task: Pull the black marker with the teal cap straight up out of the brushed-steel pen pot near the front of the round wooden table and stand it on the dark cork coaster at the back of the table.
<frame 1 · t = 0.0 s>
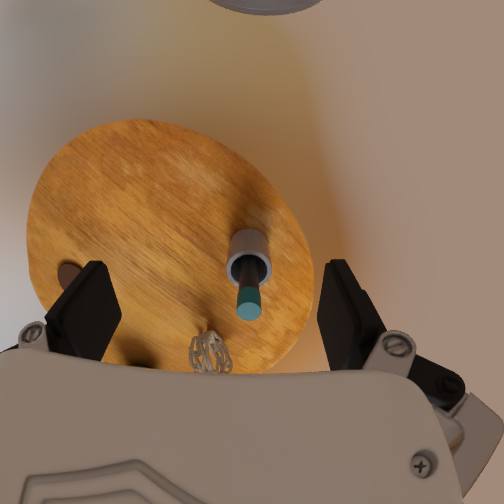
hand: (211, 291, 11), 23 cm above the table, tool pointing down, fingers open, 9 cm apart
bracelet: (213, 337, 44), on the table
coaster: (74, 280, 38), on the table
marker: (249, 247, 35), resting on pot
pot: (249, 245, 36), on the table
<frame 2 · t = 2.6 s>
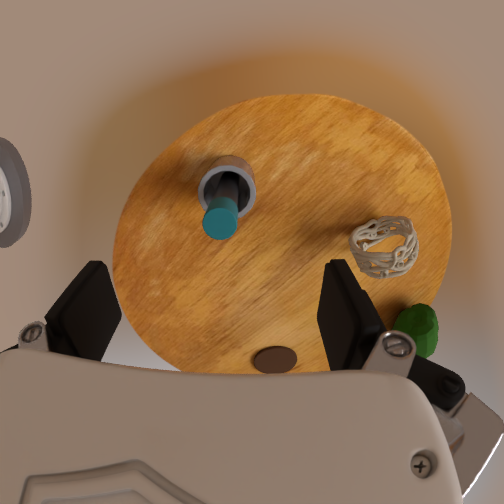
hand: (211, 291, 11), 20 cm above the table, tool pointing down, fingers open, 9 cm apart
bell pepper: (417, 316, 33), point 5 cm above the table
bracelet: (370, 228, 32), on the table
coaster: (275, 359, 42), on the table
marker: (230, 179, 28), resting on pot
pot: (230, 178, 29), on the table
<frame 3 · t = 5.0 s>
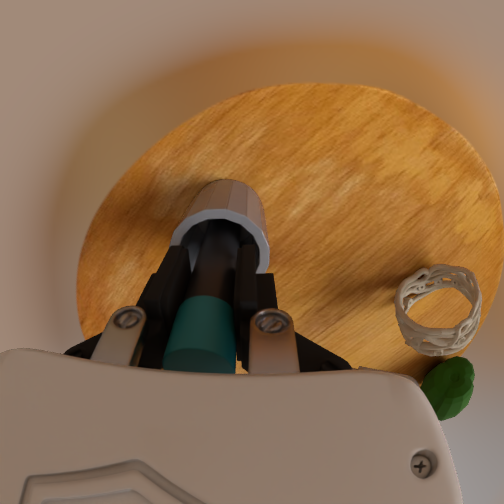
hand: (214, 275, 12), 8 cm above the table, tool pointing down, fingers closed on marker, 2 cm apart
bell pepper: (455, 375, 23), point 5 cm above the table
bracelet: (417, 278, 22), on the table
marker: (226, 217, 18), point 1 cm above the table, touching gripper, pot
pot: (227, 214, 19), on the table
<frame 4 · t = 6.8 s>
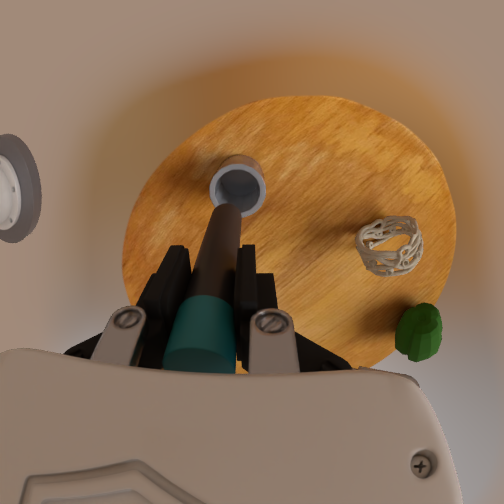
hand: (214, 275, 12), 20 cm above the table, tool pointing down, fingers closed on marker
bell pepper: (421, 315, 33), point 5 cm above the table
bracelet: (376, 228, 32), on the table
marker: (226, 217, 18), point 12 cm above the table, touching gripper
pot: (240, 177, 29), on the table
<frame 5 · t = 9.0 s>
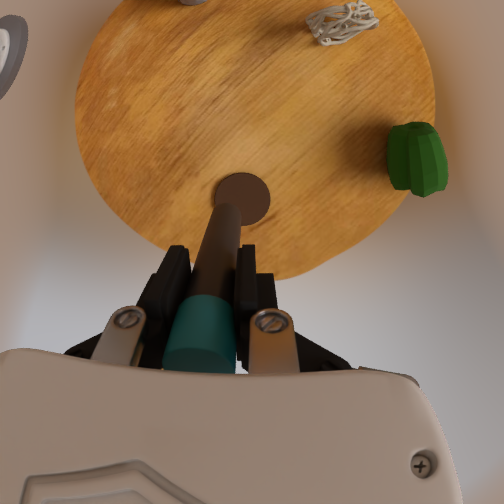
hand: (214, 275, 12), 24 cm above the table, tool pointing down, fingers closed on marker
bell pepper: (412, 124, 25), point 5 cm above the table
bracelet: (332, 31, 24), on the table
coaster: (242, 199, 35), on the table
marker: (226, 216, 18), point 16 cm above the table, touching gripper
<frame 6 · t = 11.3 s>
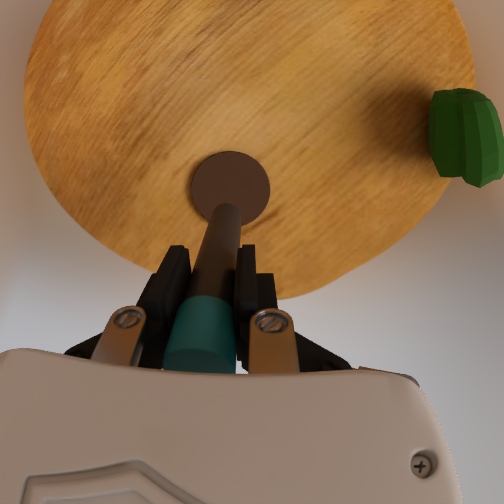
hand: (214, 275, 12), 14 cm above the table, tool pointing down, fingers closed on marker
bell pepper: (460, 89, 15), point 5 cm above the table
coaster: (230, 189, 24), on the table
marker: (226, 217, 18), point 7 cm above the table, touching gripper
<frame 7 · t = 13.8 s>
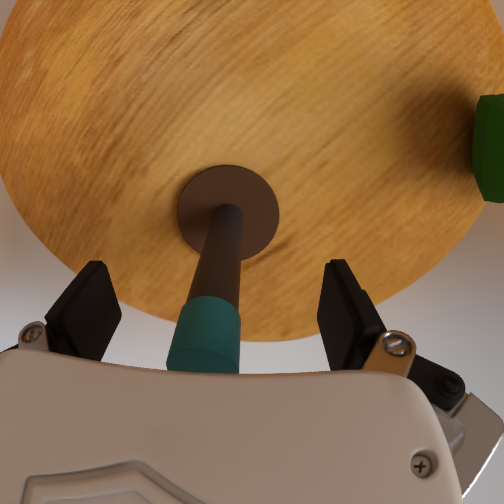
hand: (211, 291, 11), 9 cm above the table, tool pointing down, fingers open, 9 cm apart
coaster: (227, 214, 19), on the table
marker: (228, 217, 18), resting on coaster
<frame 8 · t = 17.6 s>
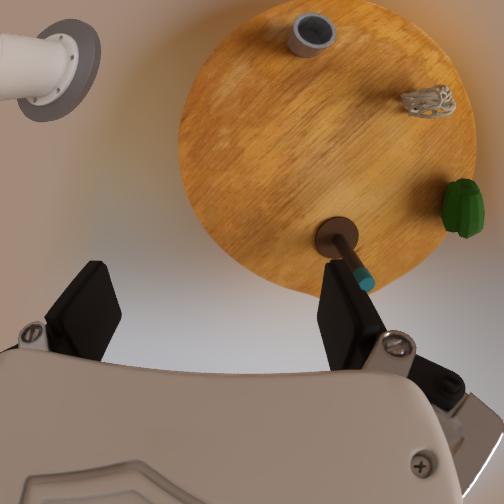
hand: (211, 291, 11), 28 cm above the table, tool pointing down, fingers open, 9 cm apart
bell pepper: (463, 184, 32), point 5 cm above the table
bracelet: (413, 100, 31), on the table
coaster: (337, 237, 41), on the table
marker: (338, 239, 41), resting on coaster
pot: (305, 41, 27), on the table
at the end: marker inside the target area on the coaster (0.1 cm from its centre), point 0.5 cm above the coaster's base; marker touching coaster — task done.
